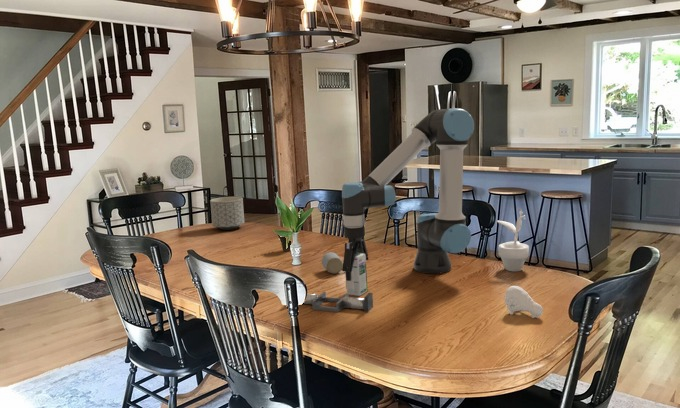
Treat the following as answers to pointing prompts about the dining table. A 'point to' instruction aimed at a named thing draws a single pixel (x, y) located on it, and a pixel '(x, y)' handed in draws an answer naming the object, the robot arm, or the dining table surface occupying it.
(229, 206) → the planter
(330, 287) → the dining table surface
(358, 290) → the syrup box
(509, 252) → the potted plant
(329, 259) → the ceramic mug
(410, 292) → the dining table surface
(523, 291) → the white lumpy piece
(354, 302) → the coupling cradle
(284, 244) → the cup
